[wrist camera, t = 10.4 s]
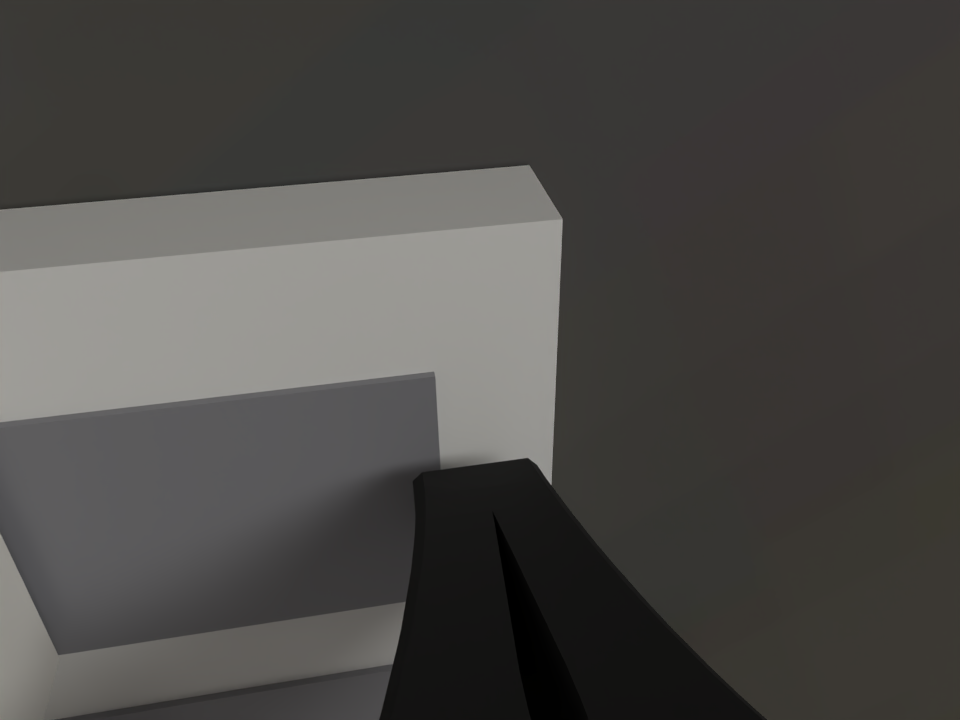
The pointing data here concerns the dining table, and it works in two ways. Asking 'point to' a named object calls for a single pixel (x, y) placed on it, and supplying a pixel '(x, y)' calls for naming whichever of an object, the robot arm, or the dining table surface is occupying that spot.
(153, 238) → the panel
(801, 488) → the dining table surface
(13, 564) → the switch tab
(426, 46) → the dining table surface
